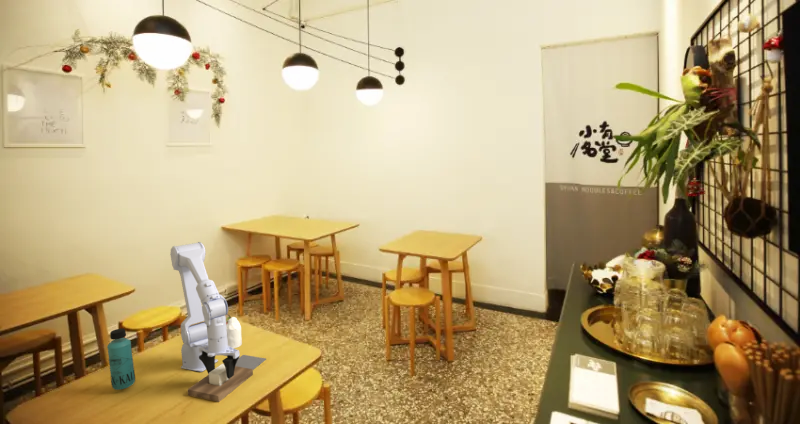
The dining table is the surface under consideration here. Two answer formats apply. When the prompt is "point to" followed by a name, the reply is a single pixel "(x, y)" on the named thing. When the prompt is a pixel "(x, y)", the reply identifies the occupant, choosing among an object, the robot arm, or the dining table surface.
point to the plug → (218, 375)
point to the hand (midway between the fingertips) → (221, 375)
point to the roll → (234, 333)
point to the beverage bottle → (120, 360)
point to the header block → (219, 392)
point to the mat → (249, 361)
